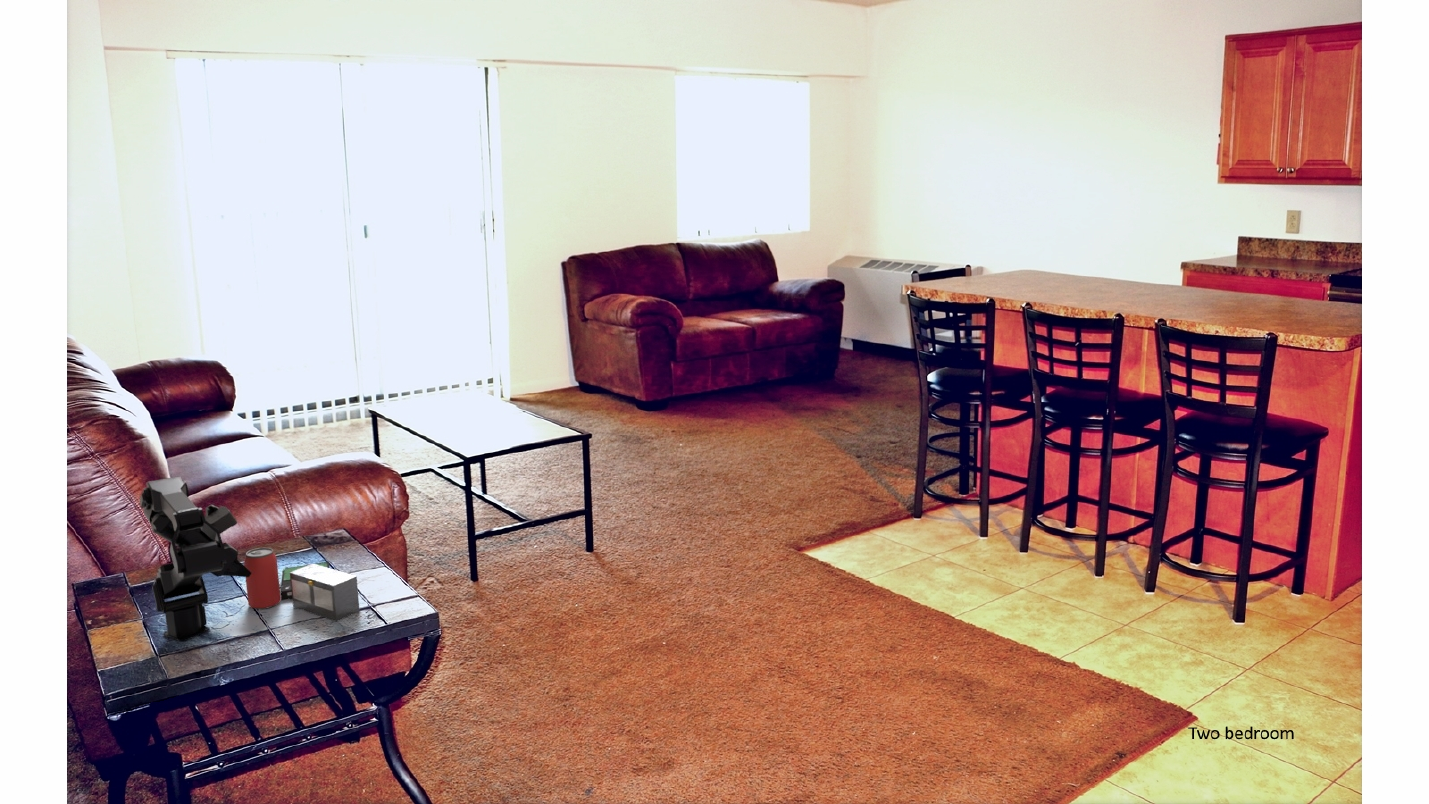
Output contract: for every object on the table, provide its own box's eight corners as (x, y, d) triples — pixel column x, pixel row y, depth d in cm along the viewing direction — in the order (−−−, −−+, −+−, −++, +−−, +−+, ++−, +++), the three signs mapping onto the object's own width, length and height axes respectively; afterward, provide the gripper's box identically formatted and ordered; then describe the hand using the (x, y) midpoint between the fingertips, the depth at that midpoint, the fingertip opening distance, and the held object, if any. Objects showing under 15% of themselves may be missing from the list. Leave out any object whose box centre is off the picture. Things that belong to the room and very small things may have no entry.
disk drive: (331, 596, 238) (330, 571, 251) (329, 584, 237) (329, 560, 250) (281, 603, 234) (283, 577, 248) (279, 591, 233) (281, 566, 247)
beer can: (257, 597, 235) (252, 546, 233) (286, 598, 235) (281, 546, 232) (242, 609, 229) (237, 557, 226) (272, 610, 229) (267, 557, 226)
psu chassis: (335, 622, 223) (331, 586, 221) (291, 607, 230) (288, 573, 228) (359, 611, 228) (356, 576, 226) (316, 597, 235) (312, 563, 234)
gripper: (222, 511, 213) (283, 550, 223) (195, 487, 227) (253, 524, 236) (184, 558, 210) (247, 594, 220) (159, 530, 224) (219, 566, 233)
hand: (243, 568), depth 227 cm, fingers open, 9 cm apart
